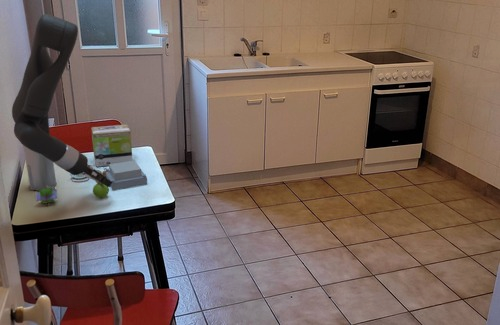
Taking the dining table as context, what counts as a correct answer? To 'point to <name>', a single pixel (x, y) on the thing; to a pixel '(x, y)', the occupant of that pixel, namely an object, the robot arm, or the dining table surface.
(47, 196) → the geometric puzzle
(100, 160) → the tea box
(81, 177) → the pacifier
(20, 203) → the dining table surface
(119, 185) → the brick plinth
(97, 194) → the snail figurine
